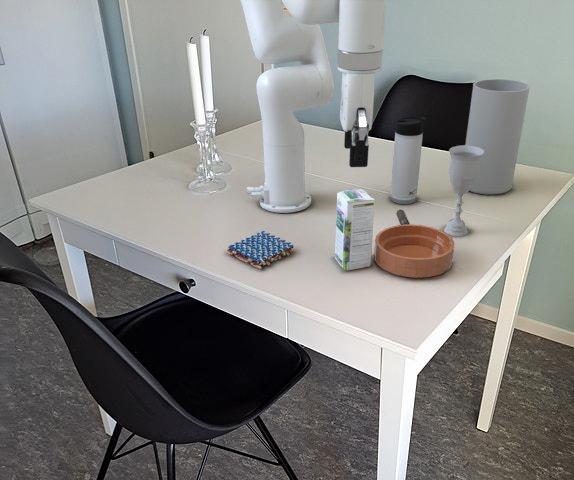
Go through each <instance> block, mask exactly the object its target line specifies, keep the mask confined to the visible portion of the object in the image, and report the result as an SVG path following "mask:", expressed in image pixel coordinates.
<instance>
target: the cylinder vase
mask: <svg viewBox="0 0 574 480" xmlns="http://www.w3.org/2000/svg"><path fill="white" fill-rule="evenodd" d="M530 88H531V86H530V84H528V83H526V82H523V81H520V80H514V79H513V80H512V79H505V78H492V79H491V78H490V79H480V80H477V81H475V82H474V83H472V92H471V98H470V99H471V100H470V106H469V114H468V115H469V116H468V123H467V128H466V129H467V130H466V137H465V144H464V145H466V146H475V147H479V148H481V149H483V150H484V153H483V155H482V156H481V158H480V165H479V172H478V176H477V178H476V180H475V182H474V184H473V185H472V187H471V188H470V190H469V191H468V192H472V193H475V194H480V195H489V196H490V195H491V196H492V195H493V196H494V195H501V194H504V193H507V192H508V191H510V190H511V189H512V187H513V182H514V176H515V171H516V165H517V160H518V155H519V148H520V144H521V137H522V133H523V128H524V127H523V126H524V121H525V115H526V110H527V105H528V99H529V93H530Z"/></svg>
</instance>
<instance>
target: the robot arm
mask: <svg viewBox="0 0 574 480" xmlns="http://www.w3.org/2000/svg"><path fill="white" fill-rule="evenodd" d="M239 2H240V4H241V7H242V11H243V14H244V15H243V16H244V19H245V23H246V28H247V31H248V36H249V39H250V43H251V47H252V51H253V54H254V56H255V59H256V60H257V61H258V63H260V64H263V65H279V64H288V63H296V62H297V63H298V62H299V63H300V65H288V66H280V67H274V68H270V69H267V70H265V71H264V72H262V73H261V74H260V75H259V77H258V78H257V80H256V85H255V87H256V96H257V102H258V105H259V110H260V117H261V127H262V143H263V147H262V148H263V167H264V182H263V185H259V186H257V187H256V186H246V195H247V196H251V199H257V198H259V206H260V207H261V208H262V209H264V210H265V211H268V212H272V213H278V214H289V213H296V212H301V211H303V210H305V209H307V208H308V207H310V206H311V205H312V196H311V195H310V193H307V192H306V175H305V174H306V173H305V172H306V169H305V167H306V165H305V161H306V160H305V158H306V157H305V154H306V153H305V130H304V127H303V125H302V124H301V122H300V121H299V120H298V119H297V117H296V116H295V113H296V112H300V111H304V110H311V109H316V108H323V107H325V106H327V105H329V104H330V103H331V102H332V100H333V98H334V94H335V83H334V82H335V81H334V75H333V72H332V71H333V70H332V67H331V64H330V63H331V62H330V59H329V55H328V50H327V46H326V41H325V38H324V34H323V31H322V28H321V26H320V25H324V24H333V23H335V24H336V23H338V42H337V43H338V45H337V46H338V47H337V71H339V72H341V73H342V77H341V87H340V88H341V91H340V108H339V120H340V124H341V128H342V130H343V131H344V144H343V146H344V149H349V162H348V163H349V164H348V165H349V167H350V168H367V167H368V163H369V147H370V144H369V132H370V131H371V130H372V128H373V127H372V126H373V117H374V104H375V86H376V85H375V83H376V82H375V79H376V73H380V72H382V69H383V53H384V37H385V26H386V24H385V23H386V11H387V8H386V7H387V0H239ZM283 6H284V7H285V8H286V10H287V11H288V12H289V14H290V15H287V14H286V13H285V12H284V8H283Z"/></svg>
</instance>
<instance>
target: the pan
mask: <svg viewBox="0 0 574 480" xmlns="http://www.w3.org/2000/svg"><path fill="white" fill-rule="evenodd" d="M454 251H455V240H454V239H453V237H452V236H451V235H449V234H447V233H445V232H444V230H441V229H438V228H436V227H433V226H427V225H422V224H411V223H410V224H409V225H401V224H399V225H398V224H397V225H392V226H389V227H386V228H383V229H382V230H381V231H379V232H378V233H377V235H375V240H374V254H373V256H374V257H373V258H374V261H375V263H376V265H378V266H379V267H380V268H382V269H383V270H384V271H386V272H388V273H391V274H393V275H397V276H400V277H401V276H402V277H404V278H429V277H435V276H438V275H441V274H443V273H445V272H447V271H448V270H449V269H450V268H451V266H452V265H453V259H454Z"/></svg>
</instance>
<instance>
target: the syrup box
mask: <svg viewBox="0 0 574 480" xmlns="http://www.w3.org/2000/svg"><path fill="white" fill-rule="evenodd" d="M375 204H376V199H375V198H373V197H372V196H371V195H370V194H369V193H368V192H367V191H365V189H348V190H343V191H338V192H337V193H336V217H335V241H334V243H335V245H334V259H335V261H337V263H338V264H339V266H340V267H341V269H343V270H344V271H345V272H346V271H352V270H358V269H364V268H368V267H371V263H372V247H373V231H374V220H375V206H376V205H375Z"/></svg>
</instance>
